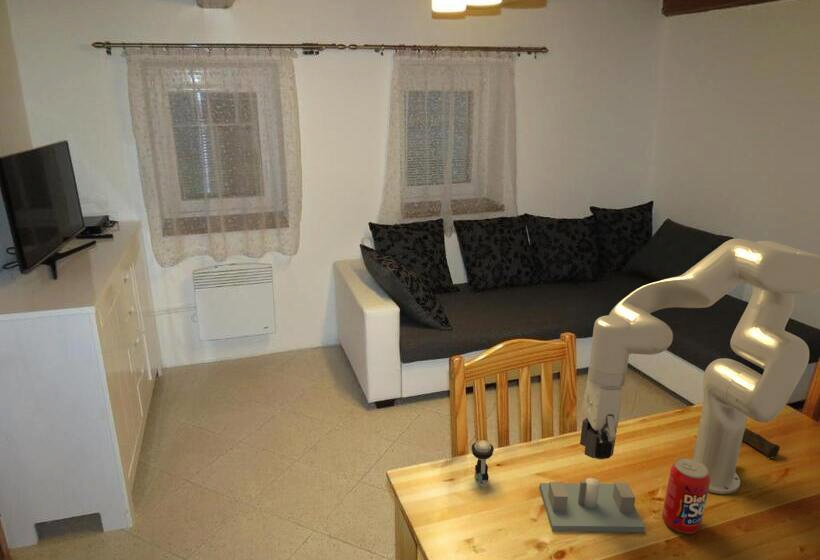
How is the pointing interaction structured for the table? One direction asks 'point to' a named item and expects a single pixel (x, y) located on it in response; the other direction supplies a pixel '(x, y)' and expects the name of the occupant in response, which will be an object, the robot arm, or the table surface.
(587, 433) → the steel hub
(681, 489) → the soda can
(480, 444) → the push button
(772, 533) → the table surface
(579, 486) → the shaft stand
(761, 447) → the dark brown bar
